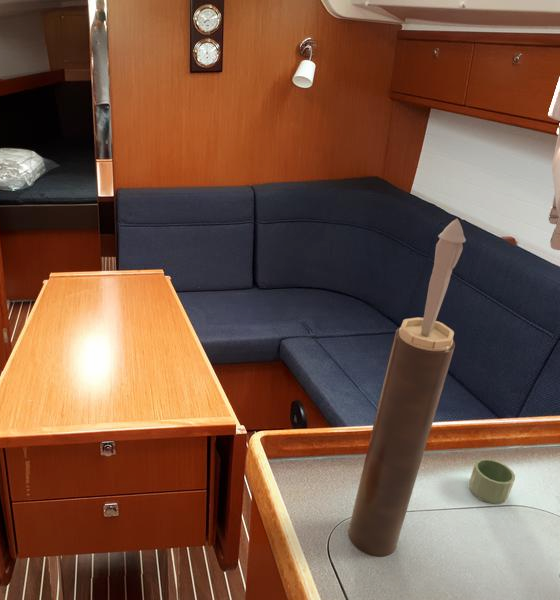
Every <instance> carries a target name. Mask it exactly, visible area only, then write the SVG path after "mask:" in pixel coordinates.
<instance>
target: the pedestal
mask: <svg viewBox="0 0 560 600" xmlns="http://www.w3.org/2000/svg"><path fill="white" fill-rule="evenodd" d="M399 329H400V327H398V328H397V329H396V331H395V333H394V337H393V342H392V346H391V350H390V354H389V358H388V363H387V367H386V370H385V371H386V372H385V375H384V379H383V383H382V384H383V385H382V388H381V392H380V396H379V397H380V398H379V400H378V405H377V409H376V413H375V416H374V421H373V425H372V429H371V434H370V438H369V442H368V446H367V450H366V453H365V454H366V455H365V459H364V463H363V468H362V472H361V476H360V479H359V484H358V487H357V492H356V496H355V500H354V505H353V509H352V513H351V518H350V522H349V526H348V530H347V533H348V537H349V539H350V541H351V543H352V544H353V545H354V546H355V547H356V548H357V549H358V550H360V551H361V552H362V553H364V554H367V555H370V556H373V557H387V556H389V555H391V554H392V553H394V551H395V550H396V548H397V545H398V542H399V540H400V539H399V538H400V535H401V533H402V532H401V531H402V528H403V525H404V521H405V518H406V514H407V511H408V508H409V504H410V501H411V498H412V495H413V491H414V488H415V484H416V480H417V477H418V473H419V470H420V467H421V464H422V461H423V457H424V452H425V450H426V447H427V443H428V439H429V436H430V433H431V429H432V426H433V423H434V419H435V416H436V412H437V409H438V406H439V402H440V399H441V396H442V392H443V390H444V389H443V388H444V387H445V386H444V385H445V382H446V379H447V376H448V372H449V369H450V365H451V362H452V359H453V354H454V351H455V348H456V343H455V340H453V345H452V347H451V348H450V349H448V350H445V351H427V350H422V349H418V348H416V347H413V346H411V345H409V344H407V343H405V342H404V341H403V340H402V339H401V338H400V337H399Z"/></svg>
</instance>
